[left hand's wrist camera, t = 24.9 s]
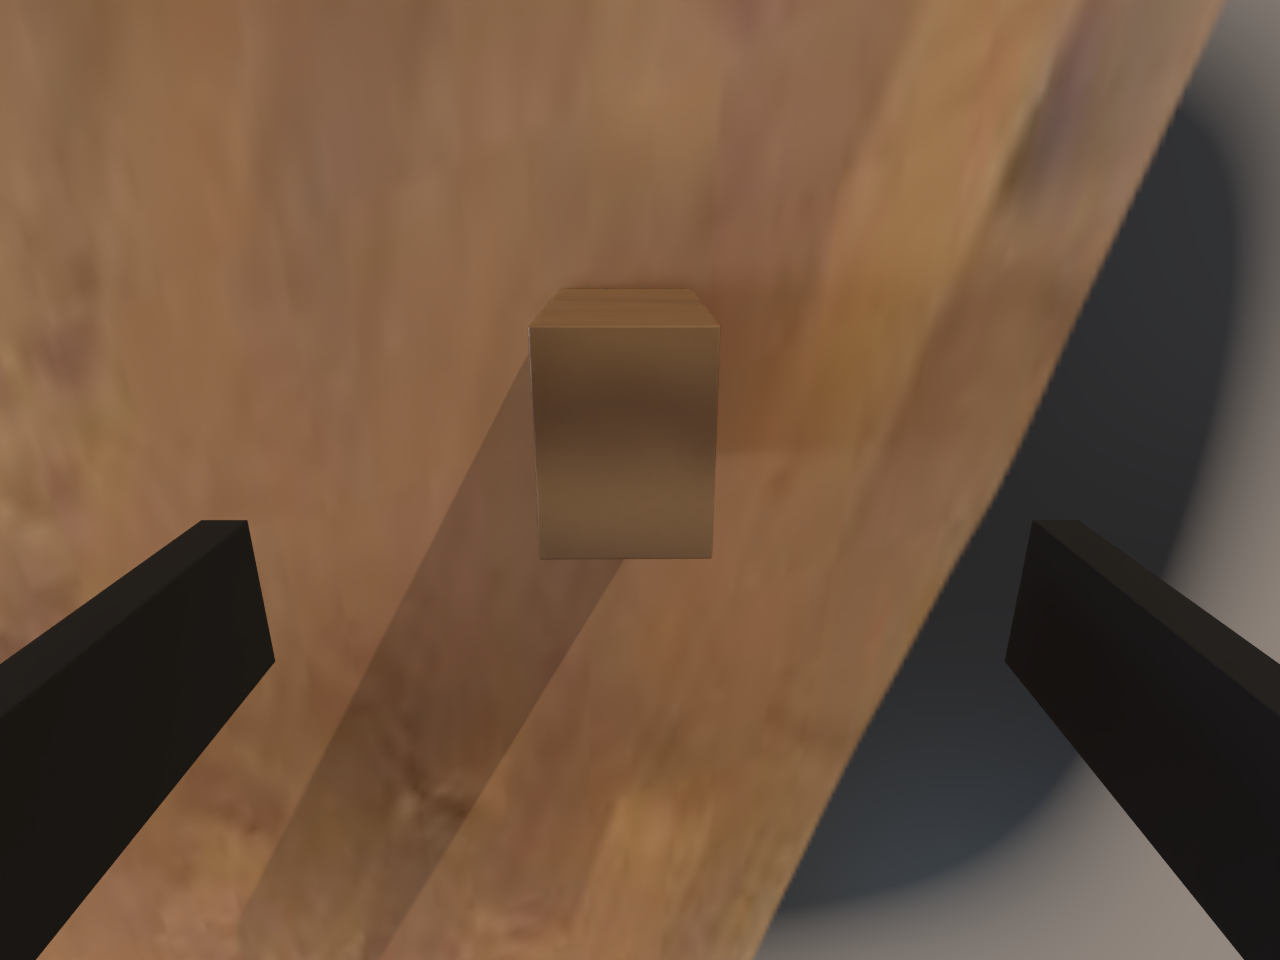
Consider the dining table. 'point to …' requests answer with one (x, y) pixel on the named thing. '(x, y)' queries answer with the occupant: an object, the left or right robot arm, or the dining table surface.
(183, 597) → the left robot arm
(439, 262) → the dining table surface
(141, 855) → the dining table surface
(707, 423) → the wooden block
